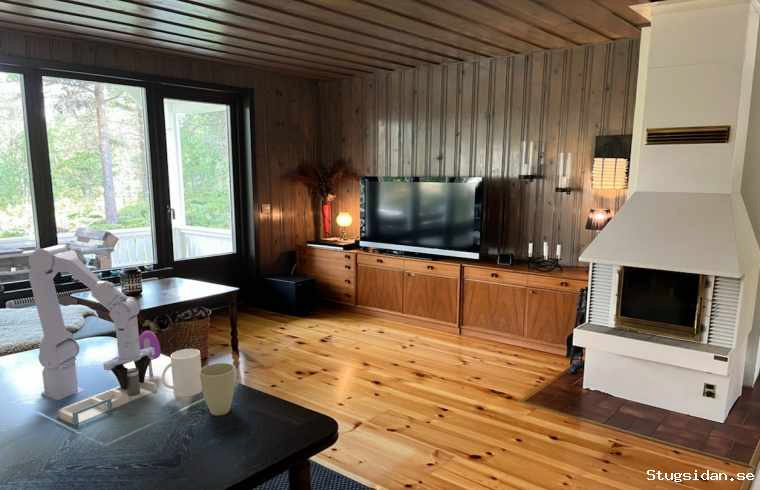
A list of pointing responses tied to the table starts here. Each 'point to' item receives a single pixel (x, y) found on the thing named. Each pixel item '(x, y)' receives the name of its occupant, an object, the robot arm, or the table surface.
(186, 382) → the mug
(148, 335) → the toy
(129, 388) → the plug
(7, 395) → the table surface
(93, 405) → the compartment tray
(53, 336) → the robot arm
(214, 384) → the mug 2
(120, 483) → the table surface
